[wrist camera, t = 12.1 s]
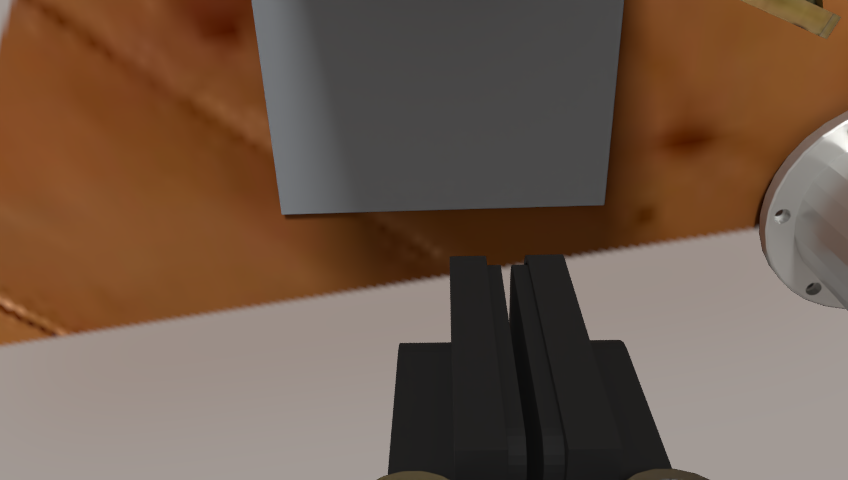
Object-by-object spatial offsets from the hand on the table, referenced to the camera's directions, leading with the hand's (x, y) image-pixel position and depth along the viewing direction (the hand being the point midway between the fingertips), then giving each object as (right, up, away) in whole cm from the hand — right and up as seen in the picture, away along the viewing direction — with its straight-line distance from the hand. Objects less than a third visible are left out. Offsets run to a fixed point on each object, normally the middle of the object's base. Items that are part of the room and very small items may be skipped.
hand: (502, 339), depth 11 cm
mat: (0, +10, +27) cm, 28 cm away
